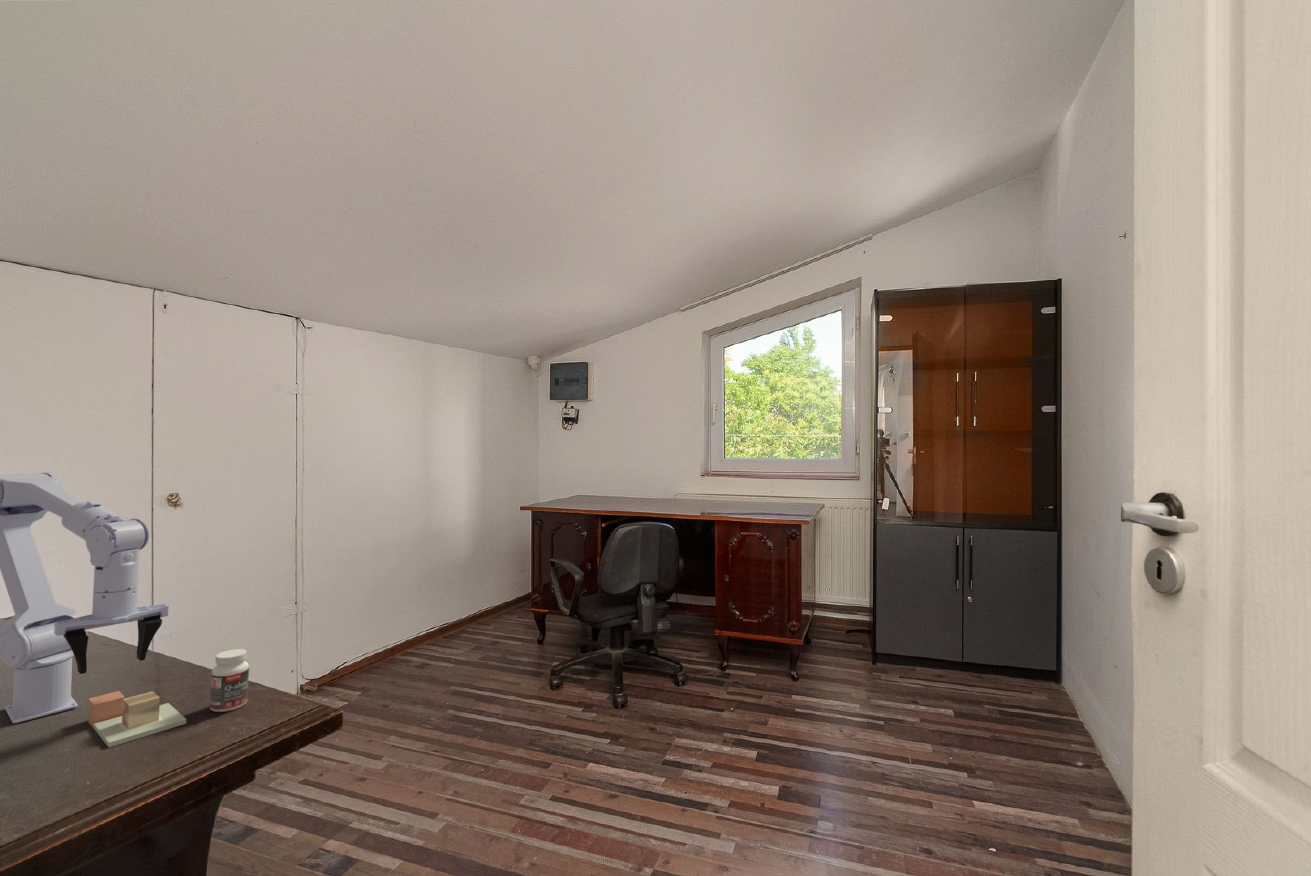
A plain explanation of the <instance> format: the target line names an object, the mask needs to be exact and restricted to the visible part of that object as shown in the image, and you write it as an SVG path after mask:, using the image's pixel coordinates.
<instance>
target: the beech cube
mask: <svg viewBox="0 0 1311 876" xmlns="http://www.w3.org/2000/svg"><path fill="white" fill-rule="evenodd" d="M160 700H161V697H160V696H159V695H157V693H155V692H154V691H153V690H152V691H148V692H145V693H141V694H137V695H133V696H129V697H125V699H123V709H122V723H123V724H124V725H125V726H126V727H127V728H128V729H131V728H135V727H138V726H141V725H145V724H148V723H152V722H155V721H158V720H159V706H160V705H161V701H160Z"/></svg>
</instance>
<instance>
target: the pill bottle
mask: <svg viewBox="0 0 1311 876" xmlns="http://www.w3.org/2000/svg"><path fill="white" fill-rule="evenodd" d="M247 654H248V653H247V650H246V649H243V648H238V649H236V648H235V649H229V650H224V651H221V652H219V653H217V654H216V655H215V661H214V662H215V664H216V665H215V666H214V667H213V668H212V669H211V673H210V674H211V677H210V697H209V709H210V710H211V711H212V712H215V713H223V712H231V711H235V710H237V709H240V708H242V707H243V706H245V705H246V704H247V703H248V699H249V698H248V697H249V674H250V673H249V671H250V665H249V663H248V661H245V660H246V659H247V657H248V655H247ZM247 681H248V682H247Z"/></svg>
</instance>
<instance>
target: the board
mask: <svg viewBox="0 0 1311 876" xmlns="http://www.w3.org/2000/svg"><path fill="white" fill-rule="evenodd" d="M186 724H187V718H186V717H185V716H183V714H181V713H180V712H179V711H178V710H177V709H176V708H175V707H174V706H172V705H171V704H170V703H169V702H167V703H163V704H160V706H159V720H158V721H155V722H152V723H148V724H145V725H141V726H138V727H135V728H131V729H128V728H127V727H126V726H125V725H124V724H123V723H122V716H120V717H116V718H113V719H109V720H106V721H102V722H99V723H95V724H94V728H93V729H94V731H95V732H96V733H97V734H98V736H99V737H100V738H101V740H102V741H103V742H104V744H105V745H106V746H107V747H108V748H112V747H115V746H119V745H121V744H125V743H129V742H131V741H136V740H138V739H140V738H141V739H142V738H144V737H147V736H151V735H153V734H157V733H160V732H164V731H167V730H170V729H174V728H176V727H179V726H184V725H186Z"/></svg>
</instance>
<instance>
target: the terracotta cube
mask: <svg viewBox="0 0 1311 876" xmlns="http://www.w3.org/2000/svg"><path fill="white" fill-rule="evenodd" d="M125 698H126V697H125V695H124V694H123V693H122V692H121V691H120V690H117V691H113V692H109V693H105V694H101V695H97V696H94V697H90V698H88V700H87V702H88V703H87V722H88V724H89V725H90V726H91V727H92V729H94V724H95V723H99V722H102V721H106V720H109V719H113V718H116V717H120V716H122V709H123V699H125Z"/></svg>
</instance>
